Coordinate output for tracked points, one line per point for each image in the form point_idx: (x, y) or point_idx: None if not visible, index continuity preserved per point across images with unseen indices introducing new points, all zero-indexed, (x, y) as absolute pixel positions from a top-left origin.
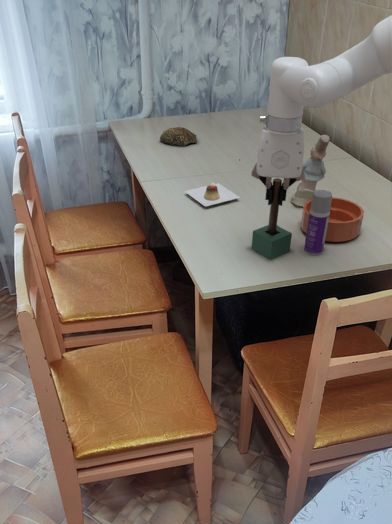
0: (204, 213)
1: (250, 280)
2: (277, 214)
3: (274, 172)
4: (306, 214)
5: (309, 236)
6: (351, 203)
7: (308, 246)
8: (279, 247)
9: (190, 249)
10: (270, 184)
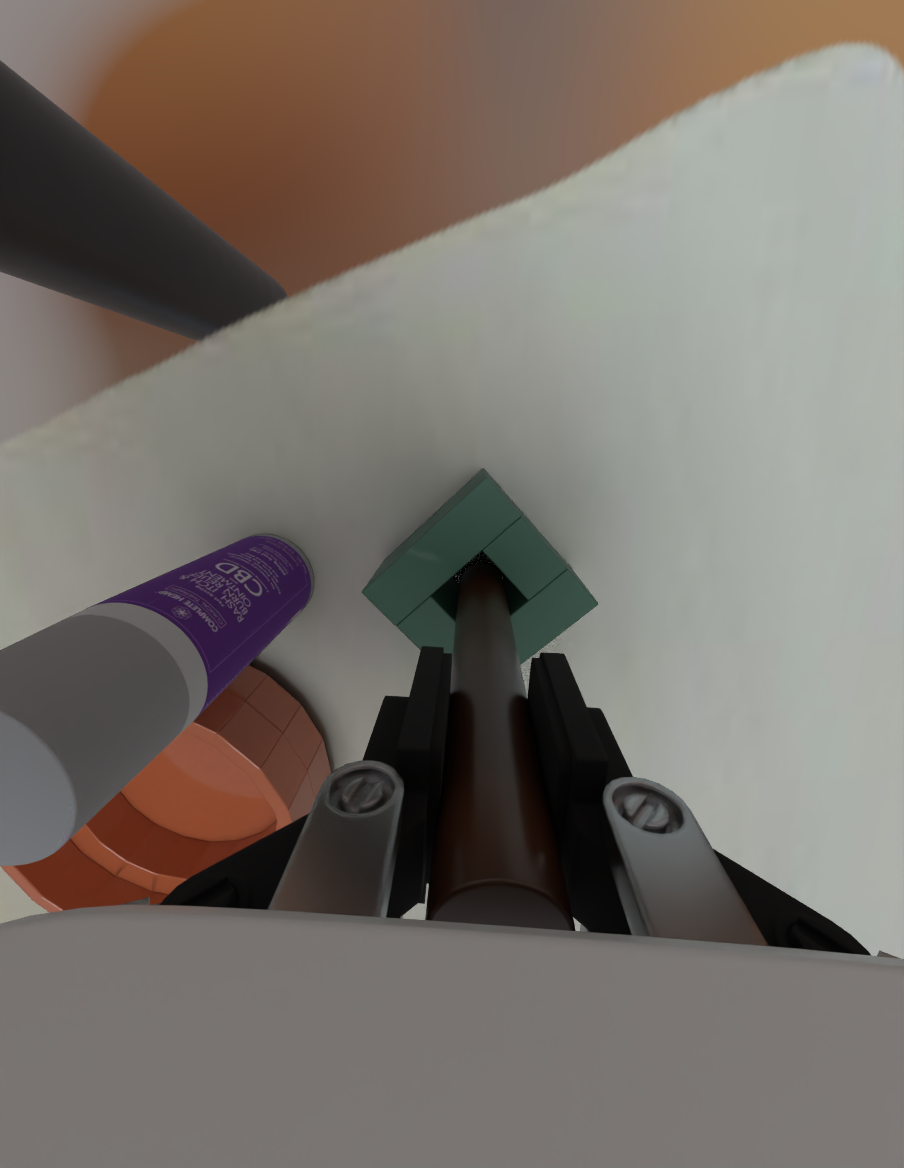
0: (762, 866)
1: (606, 220)
2: (457, 641)
3: (760, 1134)
4: (281, 789)
5: (260, 574)
6: (60, 902)
7: (282, 556)
8: (436, 516)
9: (895, 540)
10: (622, 829)
